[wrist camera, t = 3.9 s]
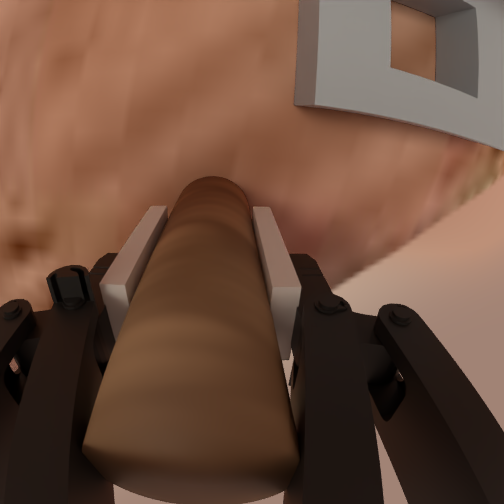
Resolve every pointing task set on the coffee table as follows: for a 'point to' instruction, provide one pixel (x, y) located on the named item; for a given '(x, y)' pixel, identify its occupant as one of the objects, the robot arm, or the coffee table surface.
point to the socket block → (399, 82)
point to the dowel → (198, 367)
